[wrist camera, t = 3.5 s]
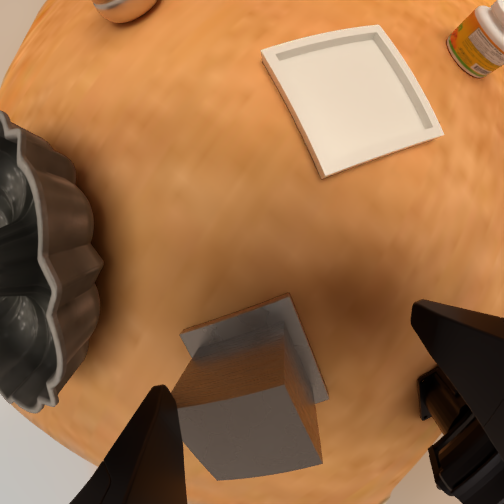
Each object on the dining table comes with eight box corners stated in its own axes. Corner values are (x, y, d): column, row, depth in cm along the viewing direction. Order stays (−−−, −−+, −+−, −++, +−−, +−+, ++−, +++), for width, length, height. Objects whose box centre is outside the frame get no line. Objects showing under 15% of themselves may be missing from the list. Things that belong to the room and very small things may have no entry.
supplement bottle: (457, 31, 14) (499, -10, 5) (490, 70, 14) (540, 39, 5) (437, 43, 15) (484, -6, 5) (473, 86, 15) (531, 51, 6)
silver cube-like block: (327, 392, 21) (343, 469, 12) (233, 417, 22) (214, 491, 13) (289, 292, 20) (294, 352, 11) (183, 329, 21) (132, 391, 12)
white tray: (433, 139, 17) (444, 134, 15) (321, 179, 18) (325, 176, 17) (373, 35, 16) (379, 24, 14) (262, 61, 17) (260, 50, 16)
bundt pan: (182, 170, 20) (105, 142, 10) (111, 407, 24) (66, 460, 14) (17, 115, 20) (-39, 101, 11) (-14, 295, 25) (-60, 312, 15)
